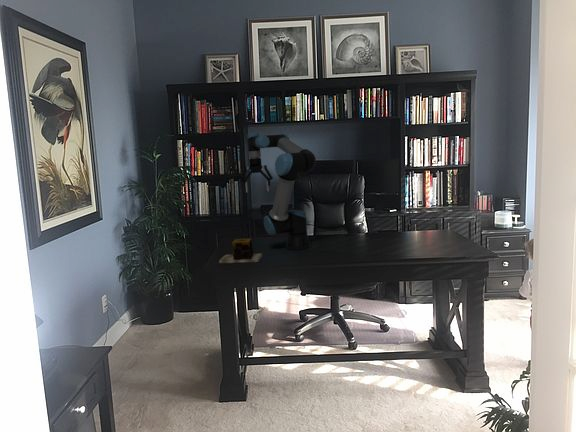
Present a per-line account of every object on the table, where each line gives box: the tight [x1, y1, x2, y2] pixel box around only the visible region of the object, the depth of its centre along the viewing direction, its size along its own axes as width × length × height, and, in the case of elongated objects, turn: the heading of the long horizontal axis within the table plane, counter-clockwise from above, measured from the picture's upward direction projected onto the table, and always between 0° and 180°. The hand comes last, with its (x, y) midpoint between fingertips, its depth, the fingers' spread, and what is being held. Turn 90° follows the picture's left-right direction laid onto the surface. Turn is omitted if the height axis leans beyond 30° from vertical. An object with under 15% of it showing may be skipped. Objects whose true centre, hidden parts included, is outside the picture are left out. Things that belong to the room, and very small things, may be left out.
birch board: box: [218, 253, 263, 264], centre depth 283 cm, size 22×14×2 cm, turn 82°
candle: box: [231, 237, 254, 260], centre depth 280 cm, size 10×10×10 cm
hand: (257, 191), depth 315 cm, fingers open, 13 cm apart
